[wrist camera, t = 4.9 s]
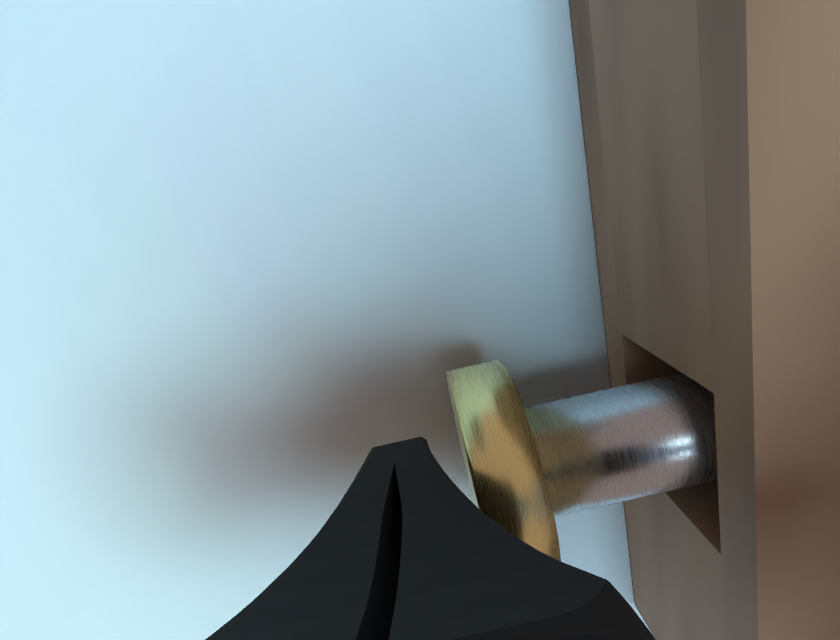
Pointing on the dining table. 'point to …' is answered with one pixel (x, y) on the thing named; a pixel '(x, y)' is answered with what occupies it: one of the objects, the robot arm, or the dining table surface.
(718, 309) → the drawbar beam
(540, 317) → the dining table surface
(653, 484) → the steel pin
